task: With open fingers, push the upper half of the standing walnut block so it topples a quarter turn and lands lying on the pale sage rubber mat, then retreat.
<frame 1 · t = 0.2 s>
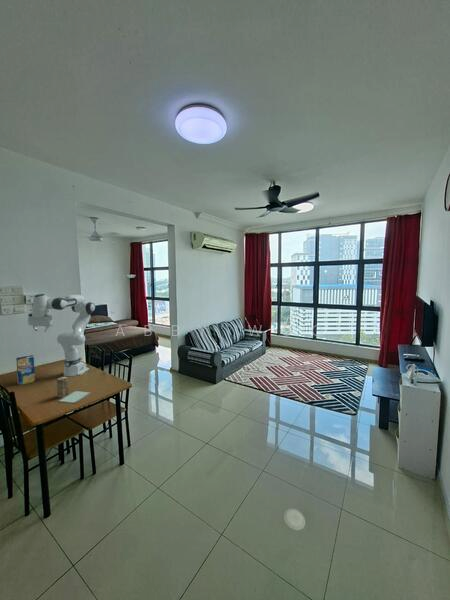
hand: (41, 331, 194), 47 cm above the table, fingers open, 8 cm apart
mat: (75, 397, 184), on the table
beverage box: (26, 382, 209), on the table
block: (63, 396, 185), on the table
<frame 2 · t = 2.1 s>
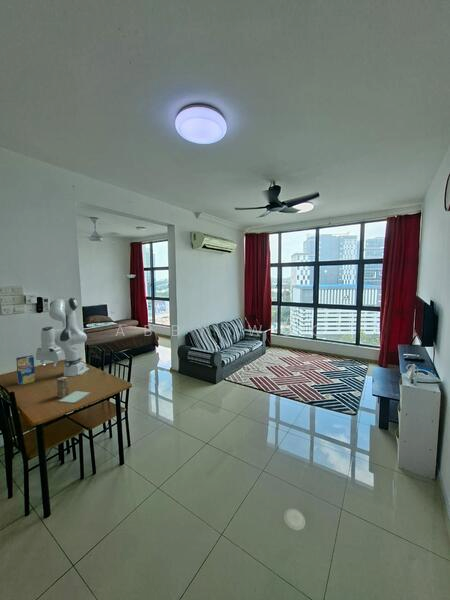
hand: (49, 365, 186), 23 cm above the table, fingers open, 8 cm apart
nothing on the table moved.
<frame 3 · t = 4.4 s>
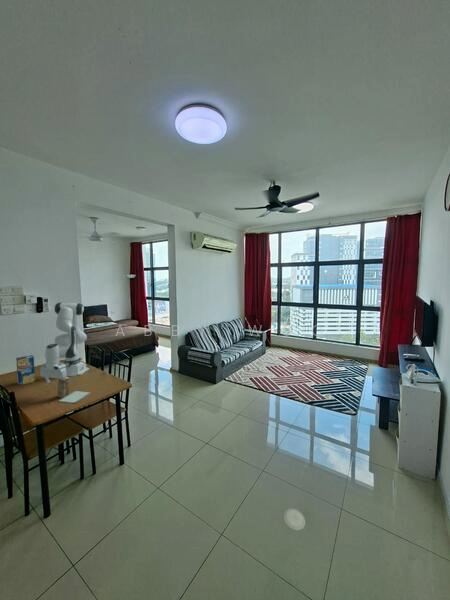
hand: (53, 383, 185), 10 cm above the table, fingers open, 8 cm apart
block: (63, 395, 185), on the table, tilted 6°, touching gripper
everything else where it was.
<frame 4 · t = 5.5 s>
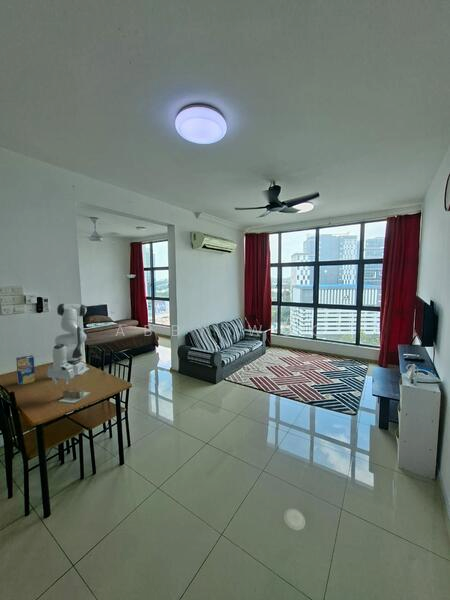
hand: (60, 383, 185), 10 cm above the table, fingers open, 8 cm apart
block: (65, 392, 185), point 3 cm above the table, tilted 90°, touching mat
everything else where it was.
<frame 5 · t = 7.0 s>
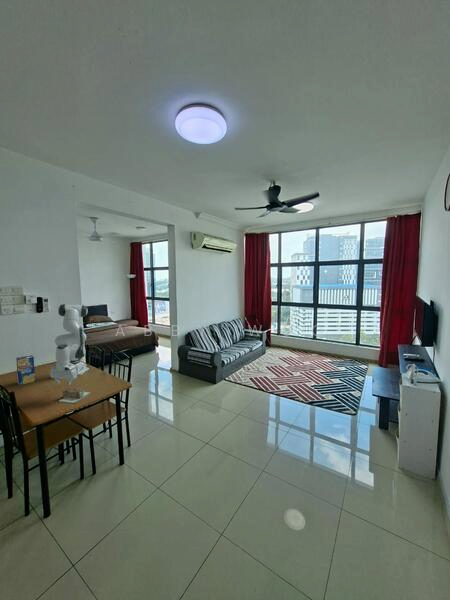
hand: (63, 384, 184), 10 cm above the table, fingers open, 8 cm apart
nothing on the table moved.
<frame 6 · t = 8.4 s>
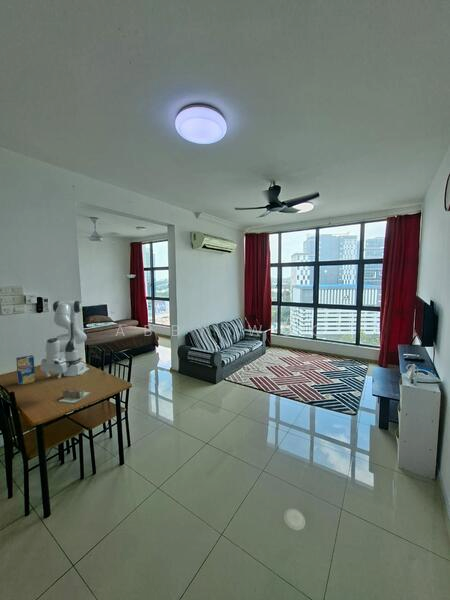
hand: (53, 377, 186), 14 cm above the table, fingers open, 8 cm apart
nothing on the table moved.
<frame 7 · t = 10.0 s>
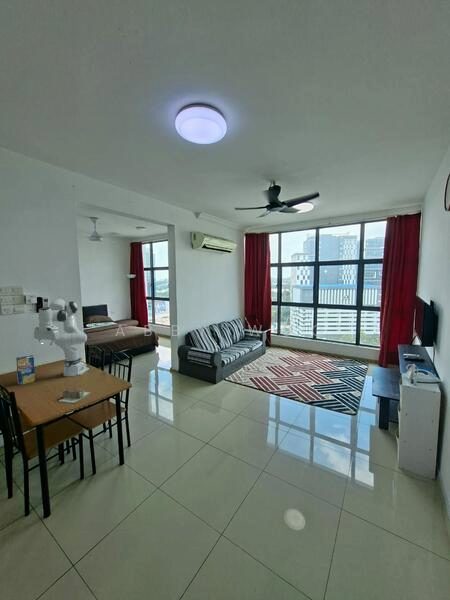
hand: (46, 344, 193), 37 cm above the table, fingers open, 8 cm apart
nothing on the table moved.
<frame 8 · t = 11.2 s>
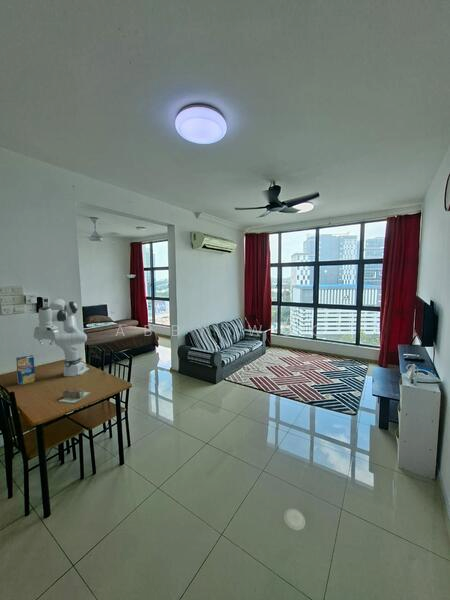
hand: (46, 344, 193), 37 cm above the table, fingers open, 8 cm apart
nothing on the table moved.
at the end: block tilted 90°; block inside the target area (3.7 cm from its centre), point 3.2 cm above the table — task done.
